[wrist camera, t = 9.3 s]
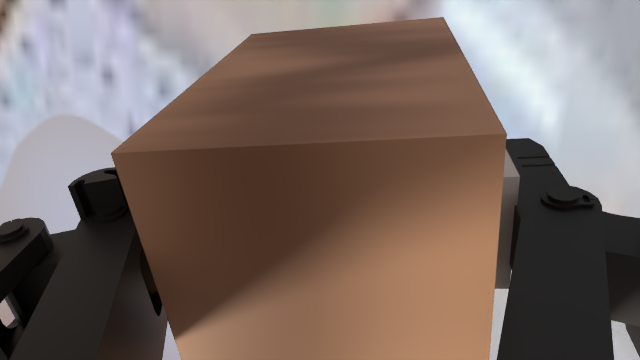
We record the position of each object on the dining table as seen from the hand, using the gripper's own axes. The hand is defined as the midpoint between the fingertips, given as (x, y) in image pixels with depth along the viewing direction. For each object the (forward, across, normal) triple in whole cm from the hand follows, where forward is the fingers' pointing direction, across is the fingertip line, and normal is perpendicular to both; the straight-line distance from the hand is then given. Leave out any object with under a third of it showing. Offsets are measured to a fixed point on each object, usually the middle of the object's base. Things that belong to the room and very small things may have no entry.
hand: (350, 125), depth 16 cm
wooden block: (+1, 0, 0) cm, 1 cm away
